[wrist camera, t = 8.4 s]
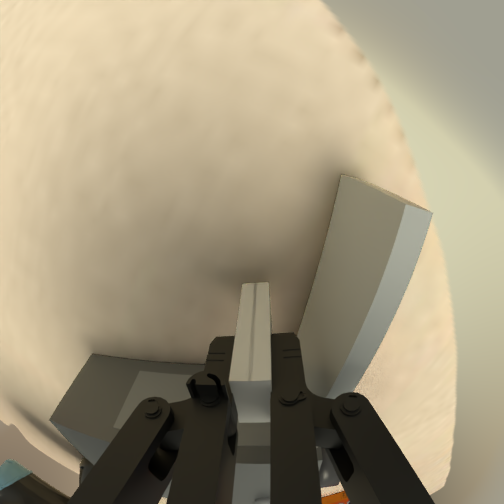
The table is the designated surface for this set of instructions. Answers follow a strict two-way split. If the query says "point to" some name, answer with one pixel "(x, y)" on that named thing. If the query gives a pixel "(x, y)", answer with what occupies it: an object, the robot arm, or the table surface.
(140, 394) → the camera body
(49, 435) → the table surface
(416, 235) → the side door
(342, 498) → the game box
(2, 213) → the table surface
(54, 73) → the table surface
